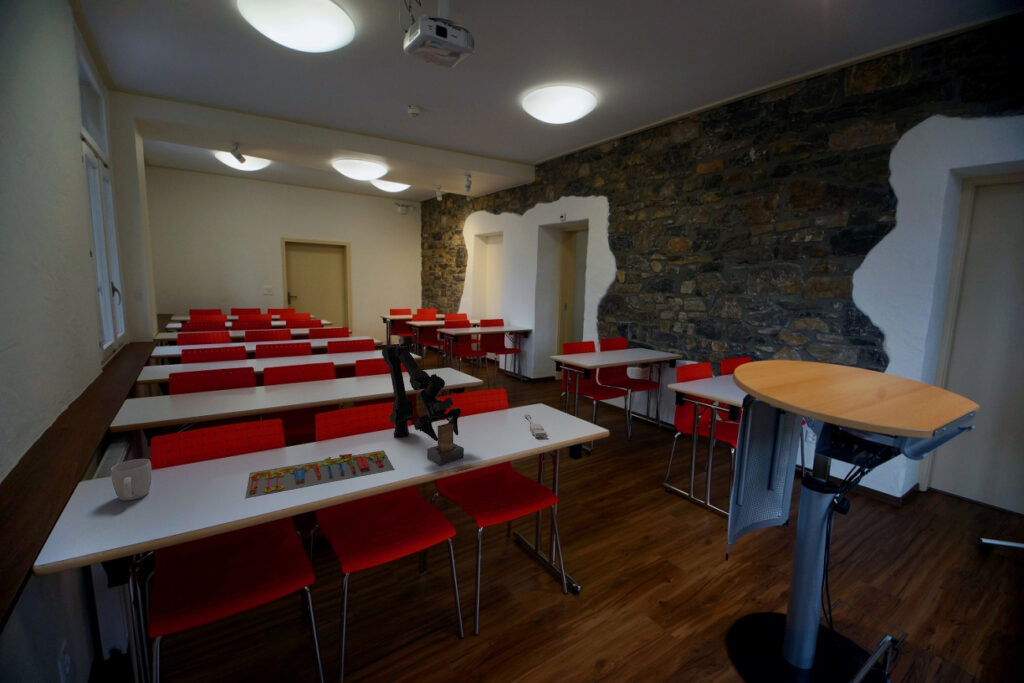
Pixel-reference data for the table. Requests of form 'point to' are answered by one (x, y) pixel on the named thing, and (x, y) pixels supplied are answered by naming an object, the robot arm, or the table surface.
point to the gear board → (316, 473)
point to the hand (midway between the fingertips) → (447, 437)
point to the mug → (132, 479)
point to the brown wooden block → (445, 437)
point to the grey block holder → (445, 455)
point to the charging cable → (535, 428)
